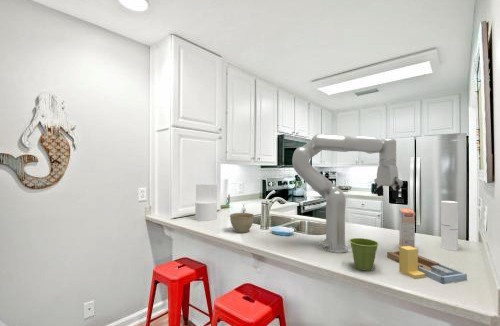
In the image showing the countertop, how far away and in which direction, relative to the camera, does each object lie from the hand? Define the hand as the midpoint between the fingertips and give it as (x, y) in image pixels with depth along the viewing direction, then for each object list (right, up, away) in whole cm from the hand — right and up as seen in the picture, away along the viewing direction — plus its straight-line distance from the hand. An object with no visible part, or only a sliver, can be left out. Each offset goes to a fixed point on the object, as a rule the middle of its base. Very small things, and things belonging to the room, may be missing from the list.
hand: (387, 197), depth 127 cm
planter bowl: (-75, -29, +41) cm, 90 cm away
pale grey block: (+5, -28, -27) cm, 39 cm away
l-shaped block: (-5, -28, -27) cm, 39 cm away
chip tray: (+6, -28, -28) cm, 40 cm away
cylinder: (-105, -29, +79) cm, 135 cm away
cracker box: (+13, -29, +5) cm, 32 cm away
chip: (+6, -28, -30) cm, 41 cm away
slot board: (+2, -28, -15) cm, 32 cm away
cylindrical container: (+37, -29, +8) cm, 48 cm away
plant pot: (-20, -28, -18) cm, 39 cm away
